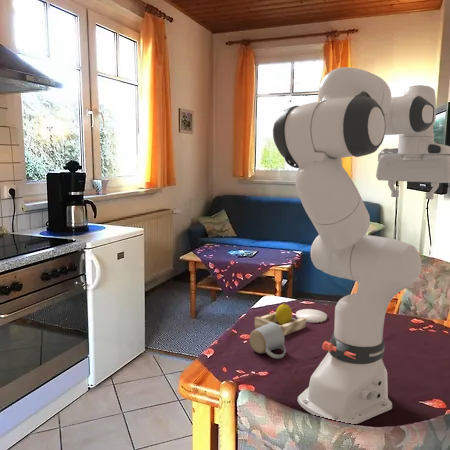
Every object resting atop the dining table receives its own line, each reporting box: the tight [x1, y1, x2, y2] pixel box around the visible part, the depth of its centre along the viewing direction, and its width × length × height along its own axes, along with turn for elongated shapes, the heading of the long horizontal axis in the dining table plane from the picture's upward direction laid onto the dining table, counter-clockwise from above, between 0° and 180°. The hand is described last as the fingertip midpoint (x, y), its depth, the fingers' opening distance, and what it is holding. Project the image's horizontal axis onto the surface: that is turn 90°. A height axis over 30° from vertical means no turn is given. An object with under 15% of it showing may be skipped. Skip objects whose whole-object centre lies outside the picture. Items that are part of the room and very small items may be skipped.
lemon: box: [275, 303, 293, 325], centre depth 144 cm, size 6×6×8 cm
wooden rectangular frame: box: [254, 311, 307, 337], centre depth 143 cm, size 14×11×4 cm
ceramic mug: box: [249, 322, 287, 360], centre depth 124 cm, size 11×8×8 cm
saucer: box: [295, 308, 328, 324], centre depth 153 cm, size 11×11×1 cm
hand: (411, 198), depth 119 cm, fingers open, 8 cm apart
